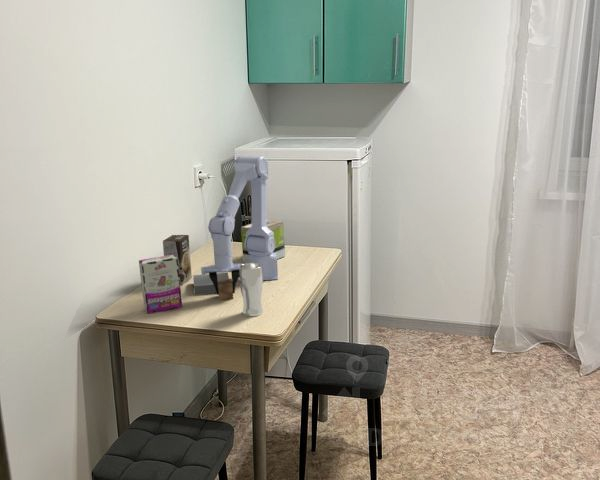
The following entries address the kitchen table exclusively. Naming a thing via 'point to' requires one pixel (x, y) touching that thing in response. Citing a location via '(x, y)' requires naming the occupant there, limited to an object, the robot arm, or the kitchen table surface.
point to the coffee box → (179, 254)
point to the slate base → (206, 283)
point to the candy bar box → (160, 283)
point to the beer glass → (251, 288)
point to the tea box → (278, 237)
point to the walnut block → (225, 289)
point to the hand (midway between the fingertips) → (225, 293)
